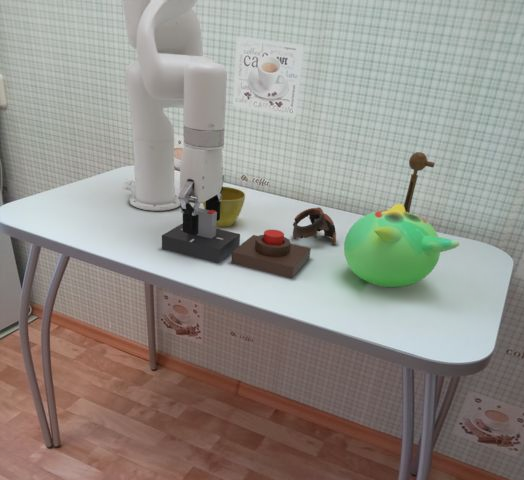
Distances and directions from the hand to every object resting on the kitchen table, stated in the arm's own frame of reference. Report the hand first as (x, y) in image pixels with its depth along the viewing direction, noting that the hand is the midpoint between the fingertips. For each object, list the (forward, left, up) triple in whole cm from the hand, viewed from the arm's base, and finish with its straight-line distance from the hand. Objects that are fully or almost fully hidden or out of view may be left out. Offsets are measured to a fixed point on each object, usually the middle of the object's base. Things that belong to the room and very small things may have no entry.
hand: (201, 225), depth 104 cm
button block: (+15, +2, -5) cm, 16 cm away
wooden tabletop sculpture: (+37, +31, -5) cm, 49 cm away
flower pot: (-3, +16, -5) cm, 17 cm away
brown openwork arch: (+19, +19, -5) cm, 27 cm away
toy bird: (+38, +5, -5) cm, 39 cm away
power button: (+15, +2, -1) cm, 15 cm away
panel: (0, 0, -5) cm, 5 cm away
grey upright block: (0, 0, -2) cm, 2 cm away
